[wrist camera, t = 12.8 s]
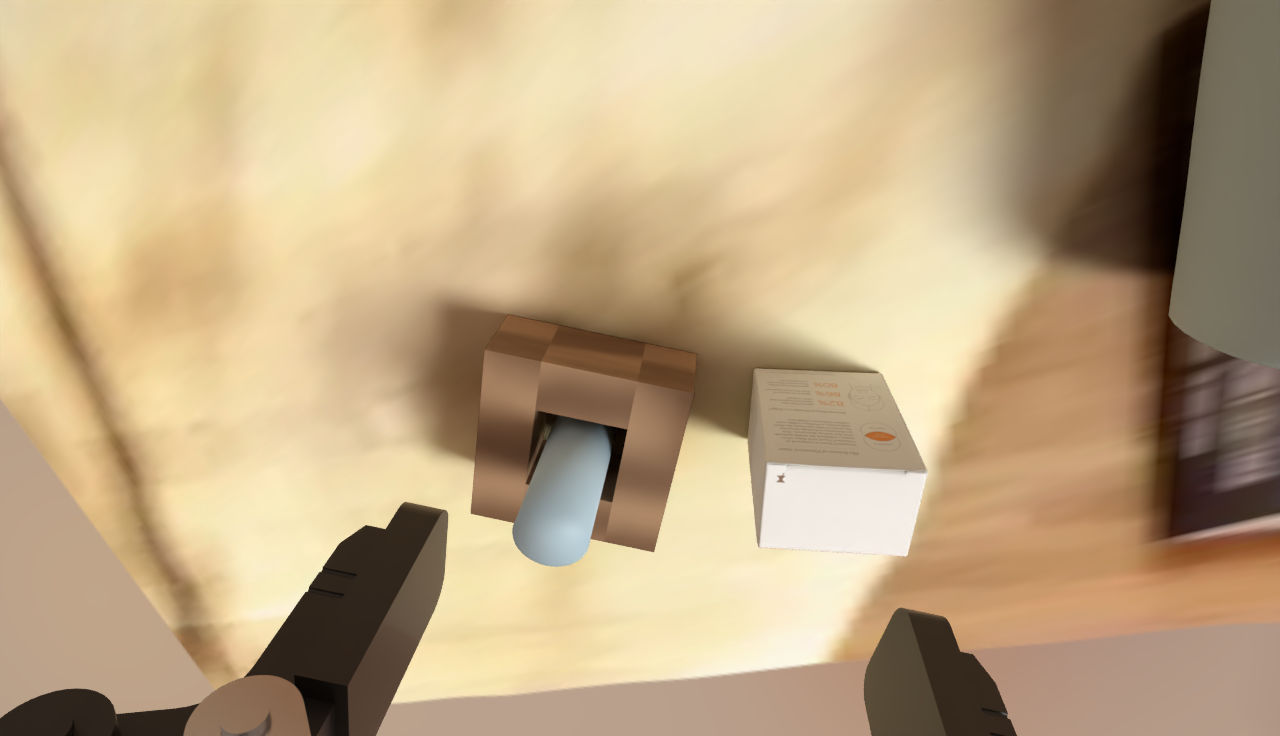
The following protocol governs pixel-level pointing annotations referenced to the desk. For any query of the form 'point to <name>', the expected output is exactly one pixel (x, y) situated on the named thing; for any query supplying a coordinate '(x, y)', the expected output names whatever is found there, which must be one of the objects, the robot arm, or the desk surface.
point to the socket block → (587, 390)
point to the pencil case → (1234, 189)
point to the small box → (832, 463)
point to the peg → (564, 492)
